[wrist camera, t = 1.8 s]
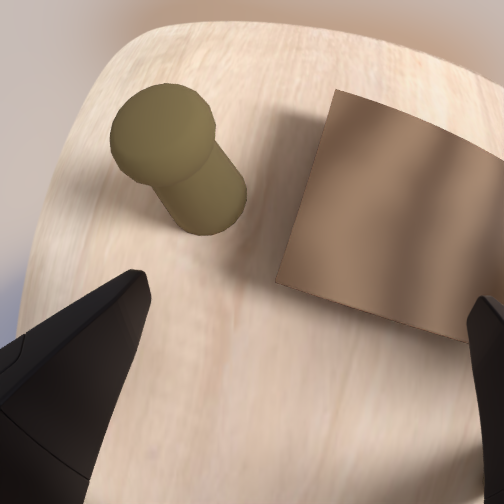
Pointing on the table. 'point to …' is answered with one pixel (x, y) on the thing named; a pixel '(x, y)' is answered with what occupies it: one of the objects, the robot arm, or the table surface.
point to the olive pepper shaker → (179, 157)
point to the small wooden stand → (398, 220)
